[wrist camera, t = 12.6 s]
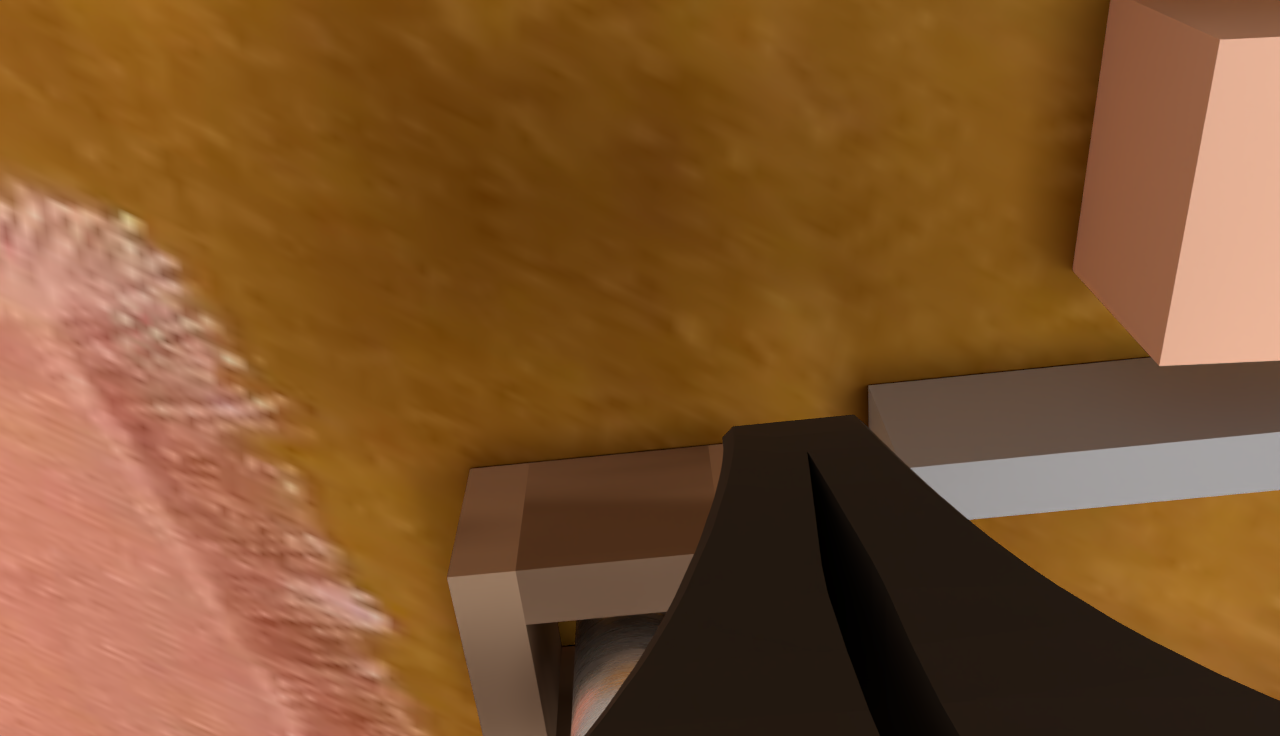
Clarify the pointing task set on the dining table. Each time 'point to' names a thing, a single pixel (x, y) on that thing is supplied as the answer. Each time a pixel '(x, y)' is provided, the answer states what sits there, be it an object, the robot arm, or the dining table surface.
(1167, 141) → the block
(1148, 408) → the bay
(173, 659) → the dining table surface
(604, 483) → the square hole block
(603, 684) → the pin
